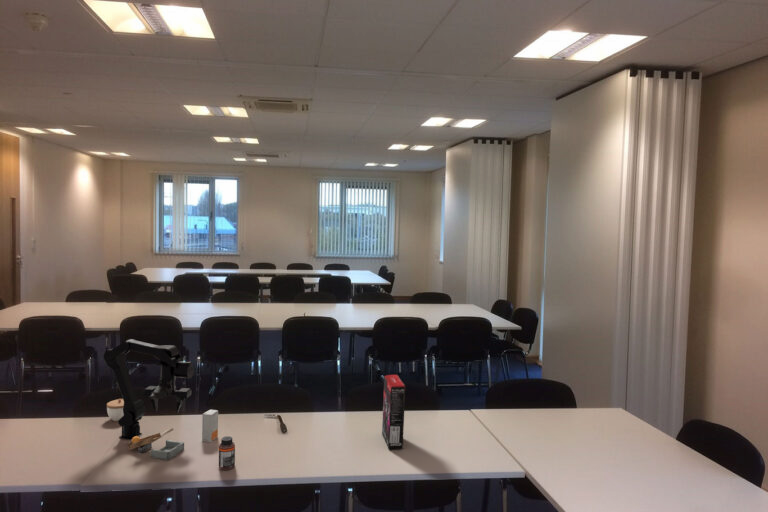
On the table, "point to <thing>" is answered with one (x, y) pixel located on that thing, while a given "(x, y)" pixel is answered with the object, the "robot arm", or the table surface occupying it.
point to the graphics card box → (393, 411)
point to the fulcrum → (144, 448)
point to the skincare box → (210, 425)
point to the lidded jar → (115, 409)
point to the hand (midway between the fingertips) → (166, 412)
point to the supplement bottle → (226, 453)
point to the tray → (168, 450)
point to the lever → (148, 439)
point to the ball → (135, 439)
